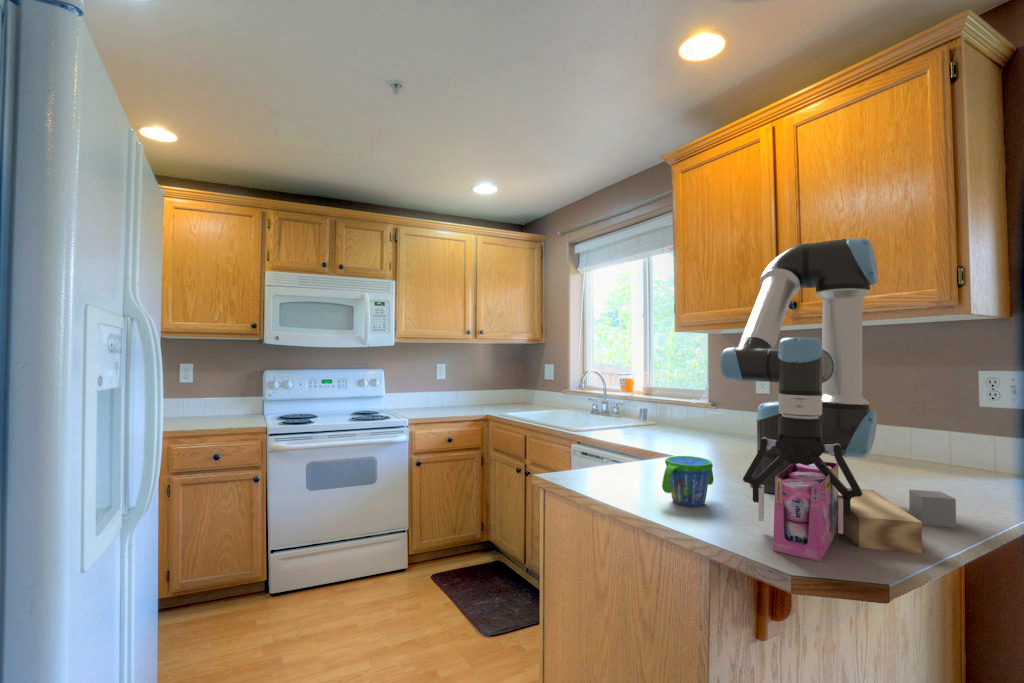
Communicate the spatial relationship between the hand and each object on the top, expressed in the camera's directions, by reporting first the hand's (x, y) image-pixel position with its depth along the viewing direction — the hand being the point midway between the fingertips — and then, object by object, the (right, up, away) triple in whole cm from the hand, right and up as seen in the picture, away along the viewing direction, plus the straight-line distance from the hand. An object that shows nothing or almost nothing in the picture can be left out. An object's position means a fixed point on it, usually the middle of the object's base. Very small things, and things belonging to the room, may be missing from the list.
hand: (799, 525), depth 103 cm
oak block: (+17, -3, +5) cm, 18 cm away
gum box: (+1, -3, 0) cm, 3 cm away
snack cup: (-14, -3, +24) cm, 27 cm away
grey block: (+35, -3, +11) cm, 36 cm away
